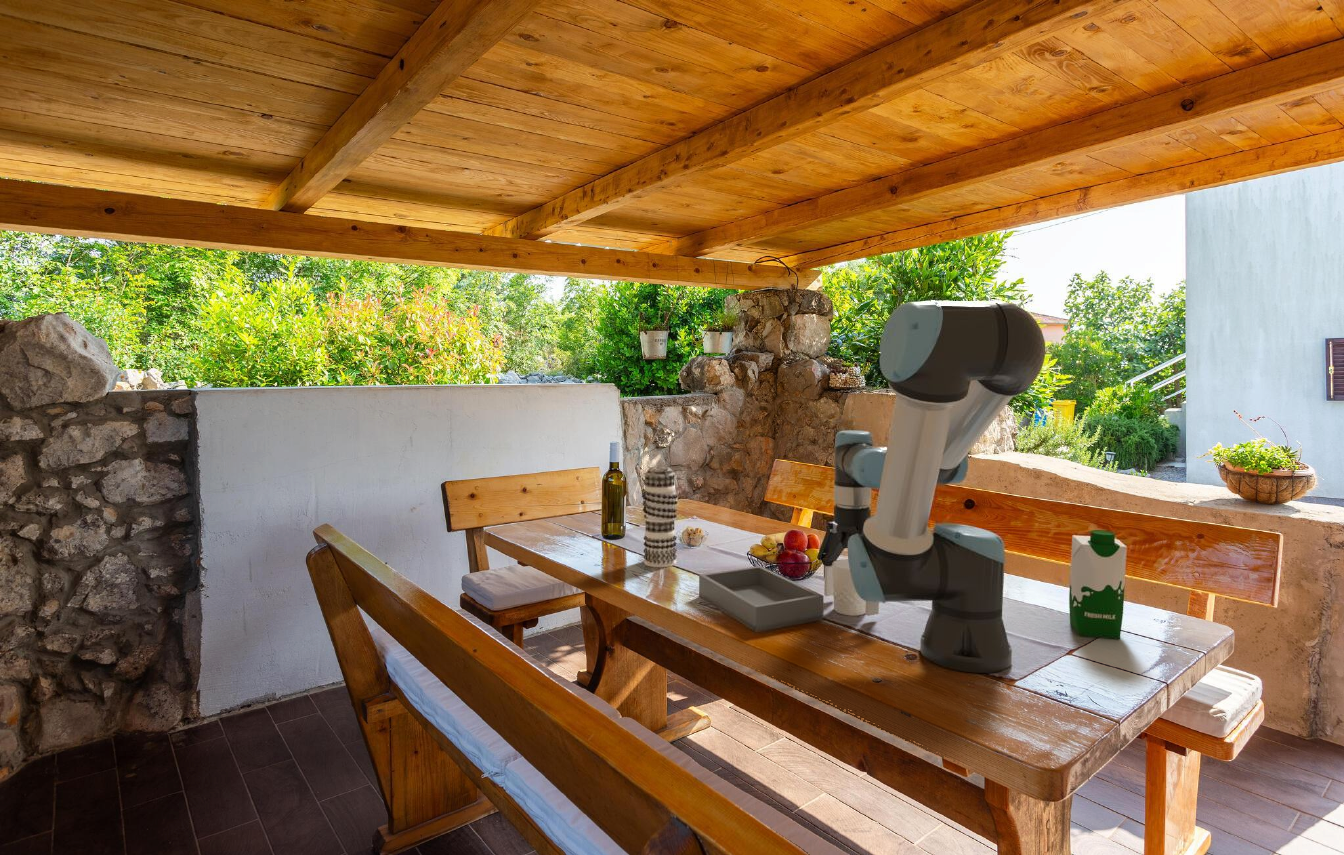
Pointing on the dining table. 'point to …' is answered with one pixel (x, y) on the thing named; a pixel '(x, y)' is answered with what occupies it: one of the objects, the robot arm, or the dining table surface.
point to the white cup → (845, 590)
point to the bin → (761, 598)
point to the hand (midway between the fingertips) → (850, 604)
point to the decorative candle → (659, 517)
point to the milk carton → (1097, 584)
